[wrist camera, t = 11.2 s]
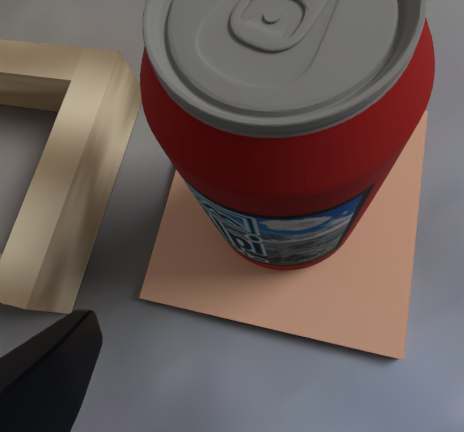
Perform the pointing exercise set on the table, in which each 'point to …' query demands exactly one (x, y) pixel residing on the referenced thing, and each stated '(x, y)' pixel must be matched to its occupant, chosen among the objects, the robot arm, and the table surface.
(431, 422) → the table surface
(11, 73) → the holder
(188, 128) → the beverage can
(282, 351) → the table surface
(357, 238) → the mat
